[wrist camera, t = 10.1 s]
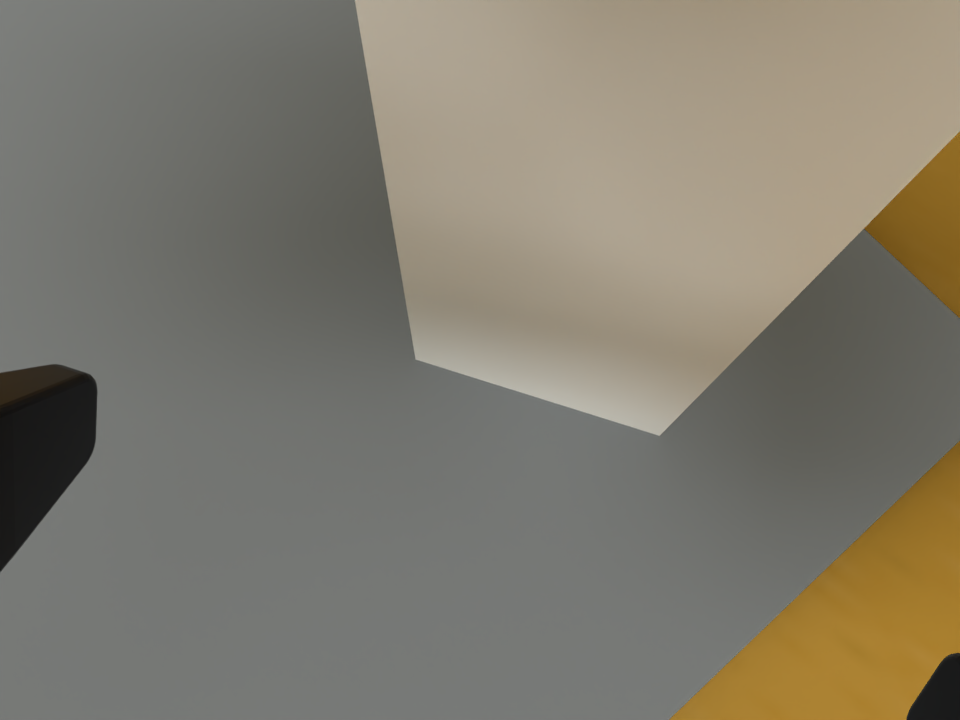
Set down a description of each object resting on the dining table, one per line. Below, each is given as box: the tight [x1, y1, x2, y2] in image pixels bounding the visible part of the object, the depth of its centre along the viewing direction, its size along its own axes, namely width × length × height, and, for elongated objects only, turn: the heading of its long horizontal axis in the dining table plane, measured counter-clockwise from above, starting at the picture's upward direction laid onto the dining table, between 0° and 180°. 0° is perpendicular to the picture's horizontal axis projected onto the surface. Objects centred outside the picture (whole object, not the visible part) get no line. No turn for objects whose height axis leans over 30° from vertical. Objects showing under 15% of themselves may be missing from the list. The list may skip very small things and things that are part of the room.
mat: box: [0, 0, 960, 720], centre depth 17 cm, size 24×24×1 cm
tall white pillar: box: [355, 0, 960, 436], centre depth 12 cm, size 5×5×12 cm
